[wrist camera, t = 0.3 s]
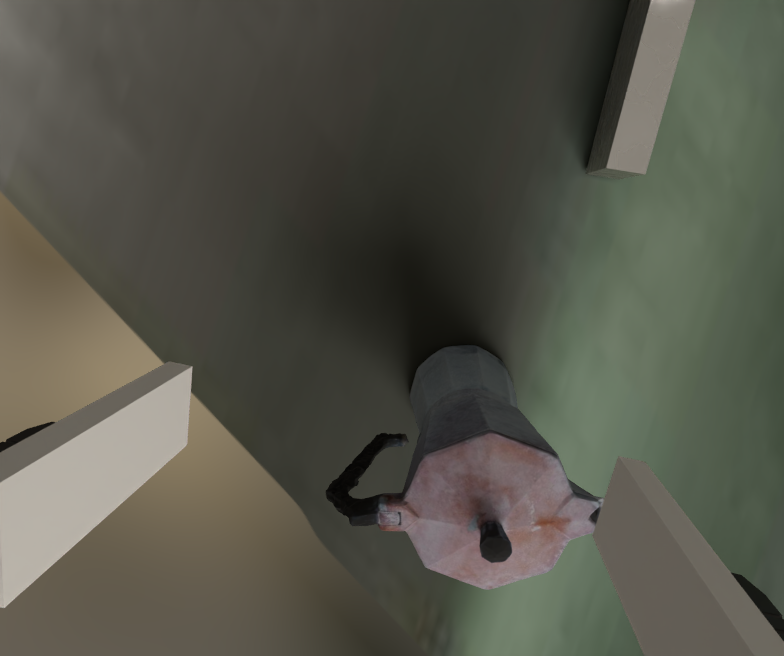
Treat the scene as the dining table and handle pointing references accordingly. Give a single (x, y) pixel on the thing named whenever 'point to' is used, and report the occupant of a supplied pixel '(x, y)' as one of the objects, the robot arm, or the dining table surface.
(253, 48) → the dining table surface
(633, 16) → the swing bar
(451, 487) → the moka pot
